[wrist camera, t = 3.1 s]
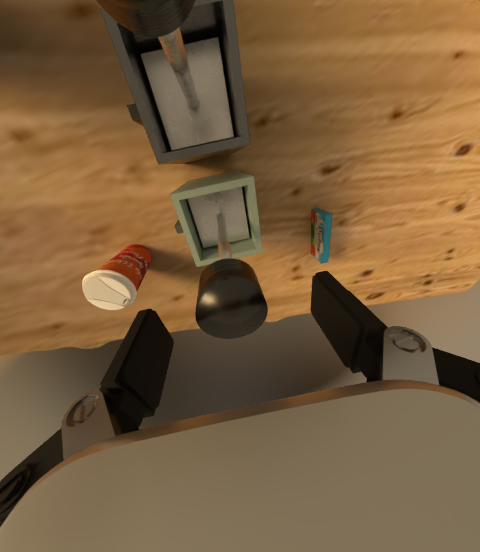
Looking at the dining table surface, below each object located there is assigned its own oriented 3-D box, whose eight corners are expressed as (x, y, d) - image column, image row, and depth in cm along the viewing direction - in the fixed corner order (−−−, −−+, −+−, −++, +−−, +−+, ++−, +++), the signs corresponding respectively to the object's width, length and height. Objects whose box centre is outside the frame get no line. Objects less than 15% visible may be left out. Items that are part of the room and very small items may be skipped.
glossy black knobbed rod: (187, 197, 25) (129, 273, 8) (240, 185, 25) (299, 236, 8) (203, 246, 29) (188, 366, 12) (248, 236, 29) (298, 341, 12)
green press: (179, 182, 35) (154, 197, 20) (236, 170, 35) (253, 176, 20) (195, 230, 41) (184, 269, 26) (245, 219, 41) (262, 252, 26)
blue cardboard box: (315, 252, 48) (328, 262, 43) (310, 253, 48) (322, 264, 43) (317, 207, 42) (332, 213, 36) (311, 209, 42) (325, 215, 36)
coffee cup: (162, 252, 43) (141, 289, 30) (147, 275, 46) (122, 318, 33) (127, 232, 39) (86, 264, 27) (113, 258, 42) (70, 299, 30)
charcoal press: (150, 93, 28) (76, 13, 13) (221, 77, 28) (230, -21, 13) (174, 165, 34) (141, 167, 19) (234, 152, 34) (250, 144, 19)
